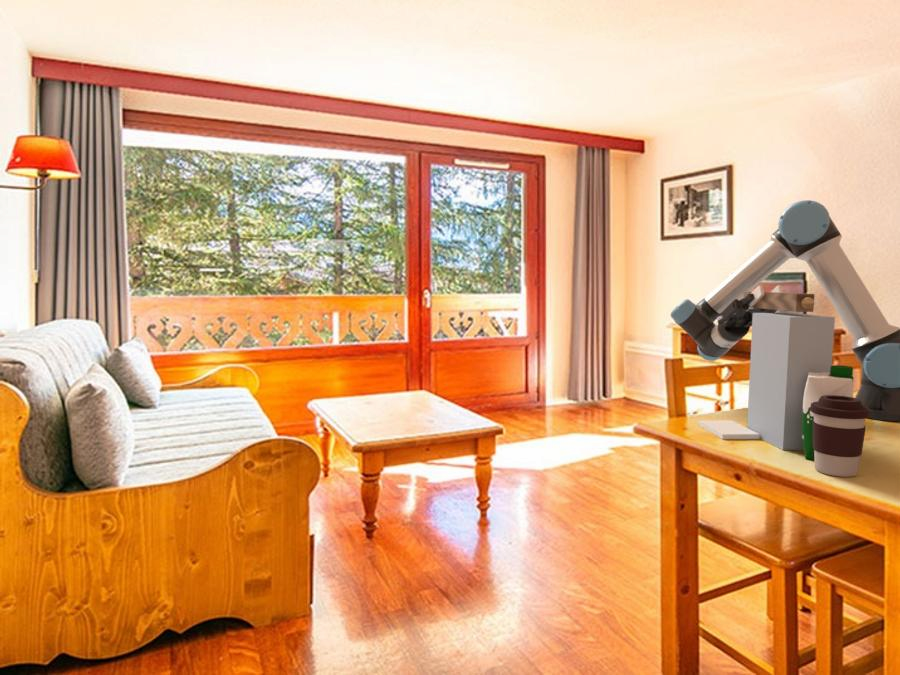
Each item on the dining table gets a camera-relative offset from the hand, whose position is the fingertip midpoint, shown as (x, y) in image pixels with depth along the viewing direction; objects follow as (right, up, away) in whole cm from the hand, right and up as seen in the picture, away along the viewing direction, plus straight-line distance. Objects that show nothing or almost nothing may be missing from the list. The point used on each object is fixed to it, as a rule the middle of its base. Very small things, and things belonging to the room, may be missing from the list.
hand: (771, 289), depth 151 cm
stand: (0, -36, -5) cm, 37 cm away
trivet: (-10, -36, +3) cm, 37 cm away
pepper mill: (0, -5, -3) cm, 6 cm away
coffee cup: (-2, -39, -29) cm, 48 cm away
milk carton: (+1, -38, -19) cm, 42 cm away
